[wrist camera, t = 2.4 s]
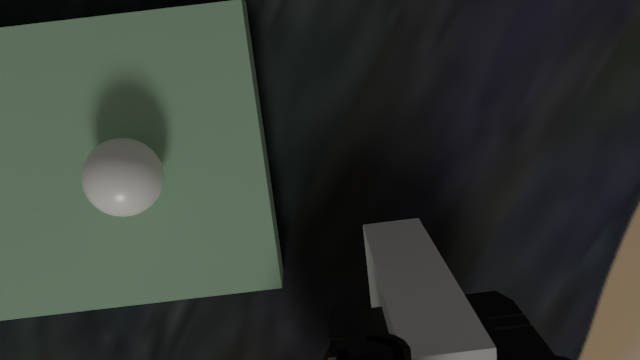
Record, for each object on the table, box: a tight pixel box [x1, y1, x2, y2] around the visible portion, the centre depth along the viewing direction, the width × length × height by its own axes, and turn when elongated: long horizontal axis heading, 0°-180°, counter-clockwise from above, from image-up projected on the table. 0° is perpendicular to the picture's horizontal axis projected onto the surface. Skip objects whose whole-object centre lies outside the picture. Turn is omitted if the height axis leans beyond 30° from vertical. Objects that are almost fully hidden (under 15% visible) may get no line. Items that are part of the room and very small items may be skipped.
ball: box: [81, 138, 164, 217], centre depth 30 cm, size 4×4×4 cm
